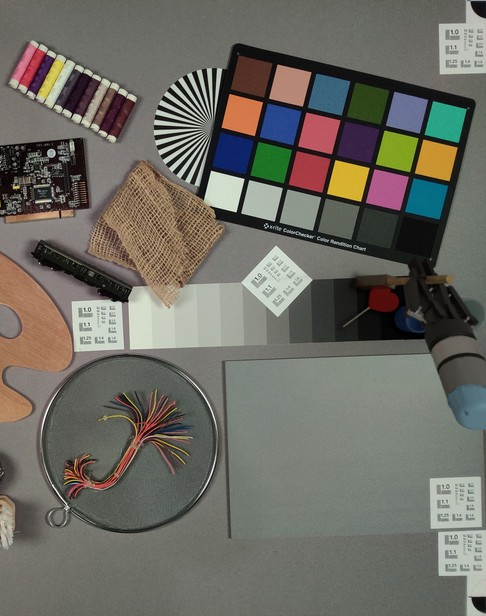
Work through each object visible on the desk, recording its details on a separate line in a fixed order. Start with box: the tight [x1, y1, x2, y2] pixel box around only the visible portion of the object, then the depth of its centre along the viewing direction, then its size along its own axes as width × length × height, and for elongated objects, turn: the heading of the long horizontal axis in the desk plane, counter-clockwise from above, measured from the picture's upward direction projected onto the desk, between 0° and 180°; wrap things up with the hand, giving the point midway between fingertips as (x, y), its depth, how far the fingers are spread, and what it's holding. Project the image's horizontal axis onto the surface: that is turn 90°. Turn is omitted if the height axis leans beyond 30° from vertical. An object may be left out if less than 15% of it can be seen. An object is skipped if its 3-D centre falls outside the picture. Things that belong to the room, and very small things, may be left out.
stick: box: [387, 274, 456, 287], centre depth 120 cm, size 2×2×20 cm
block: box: [352, 273, 398, 291], centre depth 137 cm, size 3×3×14 cm
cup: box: [460, 297, 486, 332], centre depth 139 cm, size 8×8×10 cm
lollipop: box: [342, 289, 400, 328], centre depth 143 cm, size 8×1×15 cm
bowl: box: [393, 305, 425, 334], centre depth 141 cm, size 6×6×5 cm
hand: (418, 262), depth 121 cm, fingers closed on stick, 2 cm apart
